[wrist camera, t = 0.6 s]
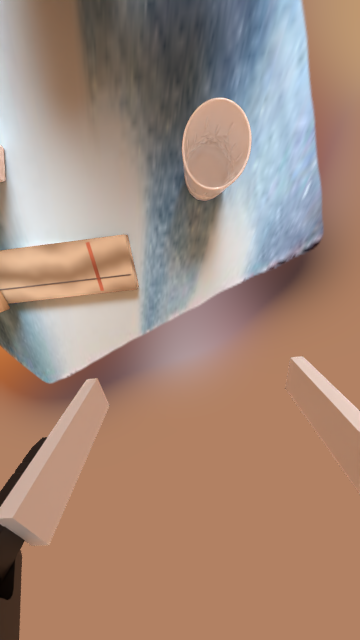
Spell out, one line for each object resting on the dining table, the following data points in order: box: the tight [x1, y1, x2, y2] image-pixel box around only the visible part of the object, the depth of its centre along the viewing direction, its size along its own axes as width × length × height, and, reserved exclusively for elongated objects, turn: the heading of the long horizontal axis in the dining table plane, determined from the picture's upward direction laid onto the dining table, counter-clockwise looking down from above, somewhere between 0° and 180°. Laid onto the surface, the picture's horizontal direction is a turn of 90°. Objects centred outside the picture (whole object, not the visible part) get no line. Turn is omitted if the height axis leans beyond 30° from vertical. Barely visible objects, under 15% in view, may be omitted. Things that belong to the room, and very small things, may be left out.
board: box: [0, 235, 139, 304], centre depth 34 cm, size 10×34×2 cm, turn 97°
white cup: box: [182, 98, 251, 201], centre depth 24 cm, size 8×8×10 cm
